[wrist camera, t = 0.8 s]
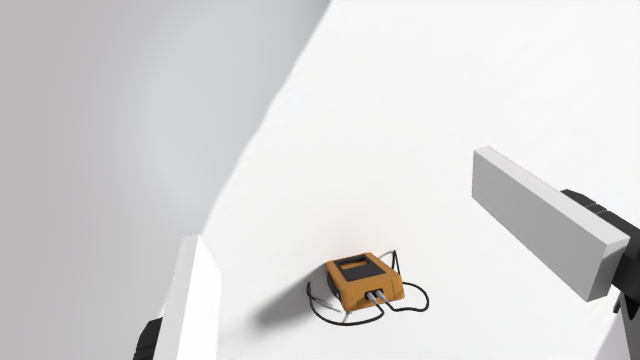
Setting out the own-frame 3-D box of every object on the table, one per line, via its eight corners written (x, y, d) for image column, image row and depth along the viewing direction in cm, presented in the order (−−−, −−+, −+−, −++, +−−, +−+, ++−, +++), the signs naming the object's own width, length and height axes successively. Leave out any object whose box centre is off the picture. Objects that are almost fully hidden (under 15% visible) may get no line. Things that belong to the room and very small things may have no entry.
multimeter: (313, 331, 50) (337, 430, 30) (301, 266, 50) (316, 323, 30) (404, 308, 52) (484, 387, 32) (393, 246, 51) (465, 286, 32)
